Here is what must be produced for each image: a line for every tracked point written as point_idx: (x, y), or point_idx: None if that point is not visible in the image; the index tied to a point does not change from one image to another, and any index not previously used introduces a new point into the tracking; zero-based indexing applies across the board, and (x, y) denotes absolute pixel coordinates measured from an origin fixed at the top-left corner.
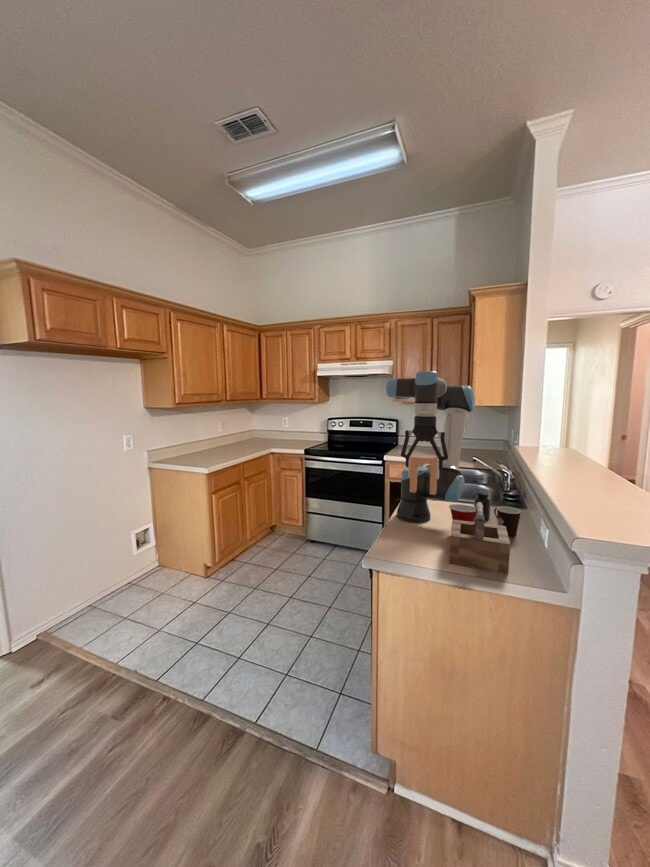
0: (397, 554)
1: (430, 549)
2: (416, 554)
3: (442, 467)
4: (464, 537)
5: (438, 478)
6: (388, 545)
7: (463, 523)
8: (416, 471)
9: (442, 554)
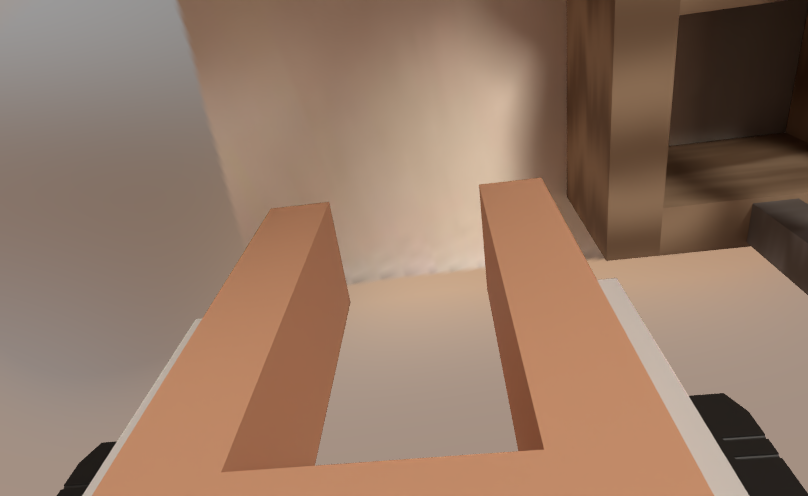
0: (335, 217)
1: (463, 87)
2: (412, 176)
3: (751, 436)
4: (685, 249)
5: None
6: (258, 148)
7: (700, 6)
8: (299, 417)
9: (529, 115)
